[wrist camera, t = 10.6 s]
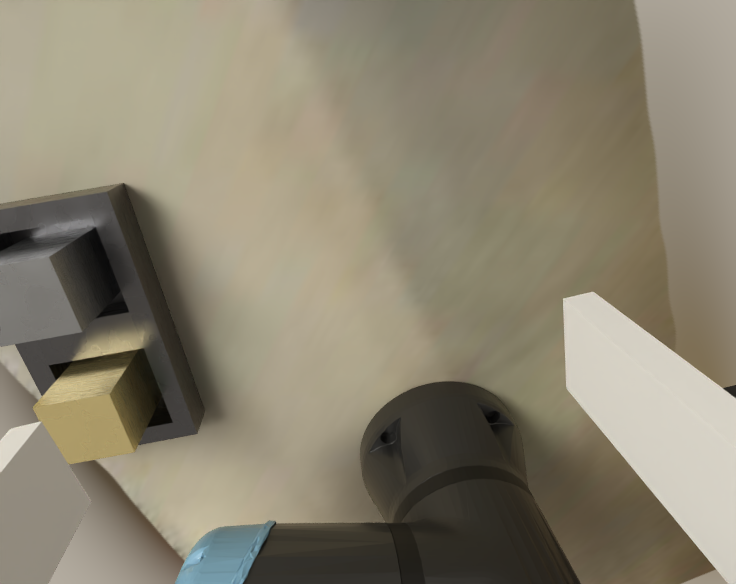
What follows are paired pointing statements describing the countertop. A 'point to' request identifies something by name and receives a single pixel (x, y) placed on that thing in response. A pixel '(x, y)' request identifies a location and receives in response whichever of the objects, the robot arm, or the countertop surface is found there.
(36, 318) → the grey block
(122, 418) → the yellow block
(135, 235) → the dark grey tray
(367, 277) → the countertop surface
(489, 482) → the robot arm
